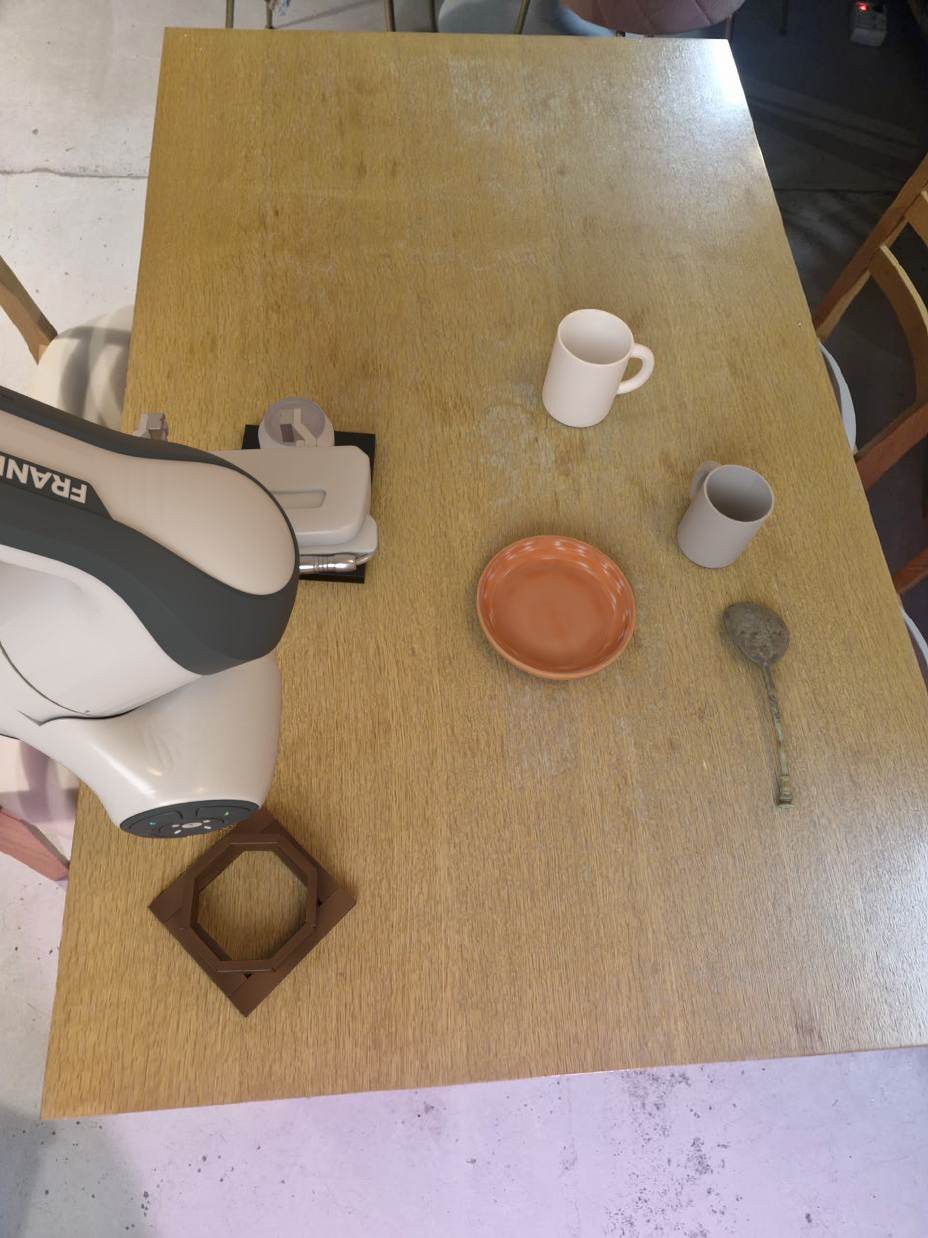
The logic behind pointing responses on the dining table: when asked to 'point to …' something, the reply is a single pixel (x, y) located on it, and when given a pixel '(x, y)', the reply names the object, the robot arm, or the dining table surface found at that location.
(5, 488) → the robot arm
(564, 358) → the mug
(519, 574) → the saucer
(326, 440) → the beverage can
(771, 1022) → the dining table surface
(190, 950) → the can holder
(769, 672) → the soupspoon
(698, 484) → the cup
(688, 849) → the dining table surface
